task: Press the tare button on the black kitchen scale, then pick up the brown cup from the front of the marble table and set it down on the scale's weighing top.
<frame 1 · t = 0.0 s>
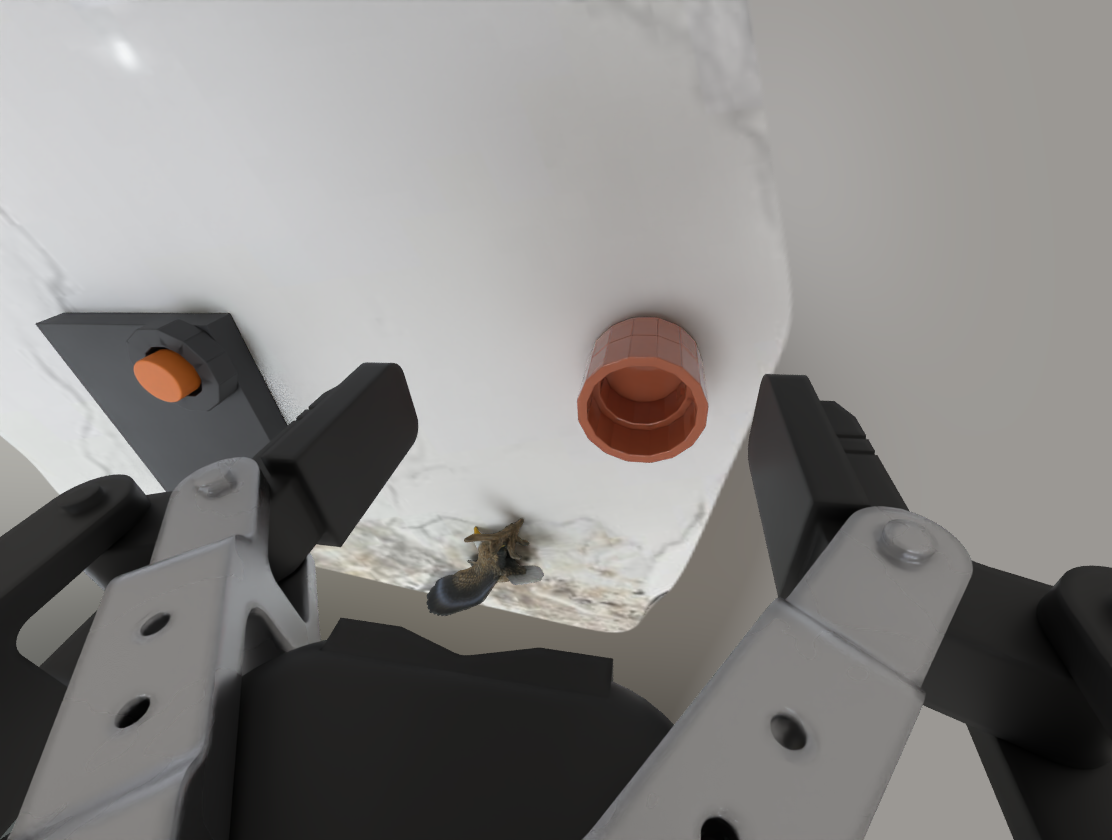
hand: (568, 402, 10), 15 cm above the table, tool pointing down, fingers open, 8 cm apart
scale: (204, 410, 36), on the table
tare button: (168, 375, 29), point 4 cm above the table, slide at 0.1 cm
brown cup: (644, 364, 26), on the table
eagle figurine: (497, 539, 38), on the table
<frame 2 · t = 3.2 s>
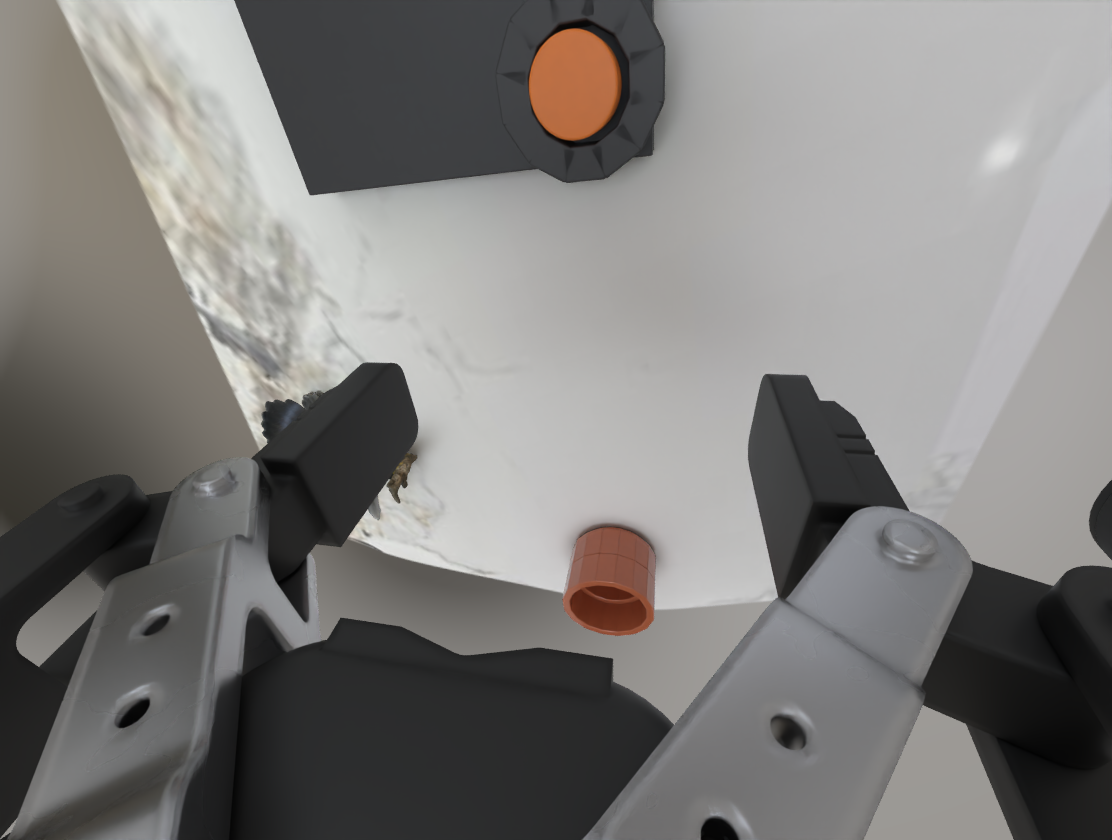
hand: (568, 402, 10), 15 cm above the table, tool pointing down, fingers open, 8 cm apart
tare button: (576, 87, 16), point 4 cm above the table, slide at 0.1 cm
brown cup: (614, 551, 35), on the table
eagle figurine: (368, 424, 33), on the table
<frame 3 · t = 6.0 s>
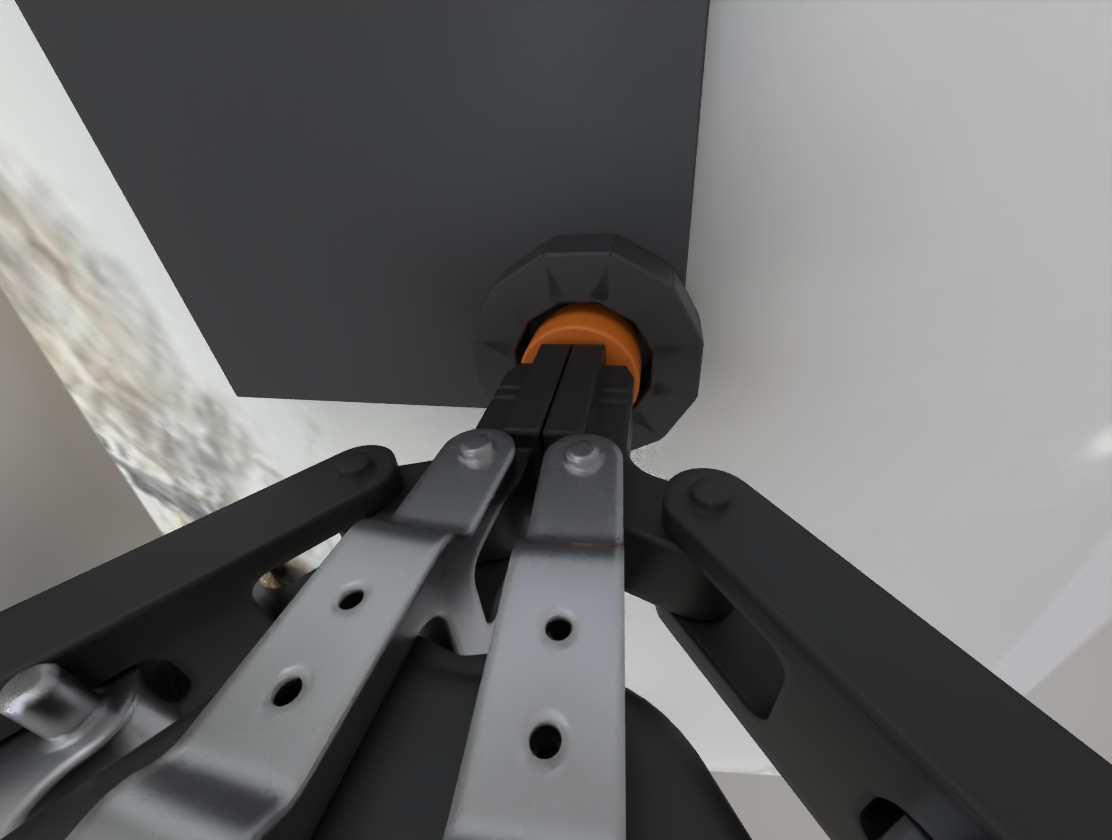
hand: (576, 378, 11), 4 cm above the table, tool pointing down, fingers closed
scale: (403, 166, 13), on the table
tare button: (582, 367, 12), point 3 cm above the table, slide at -0.3 cm, touching gripper
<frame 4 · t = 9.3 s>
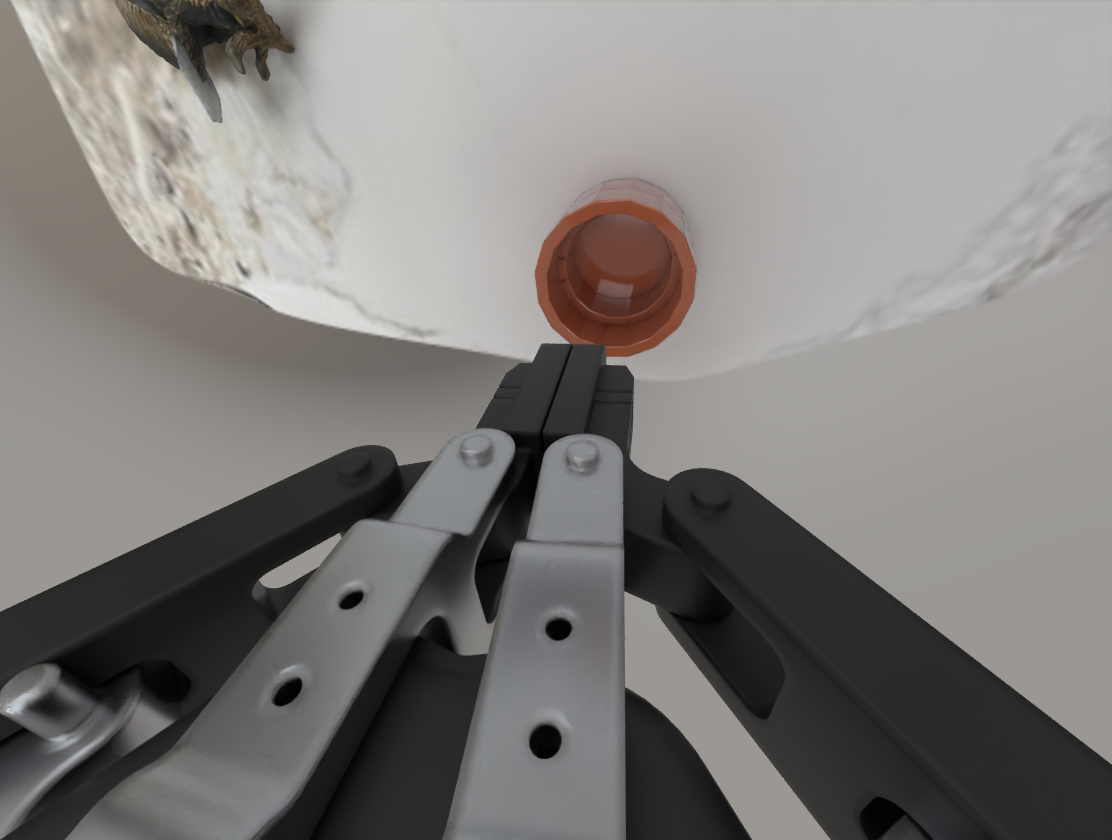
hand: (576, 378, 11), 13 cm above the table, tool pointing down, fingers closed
brown cup: (622, 249, 22), on the table
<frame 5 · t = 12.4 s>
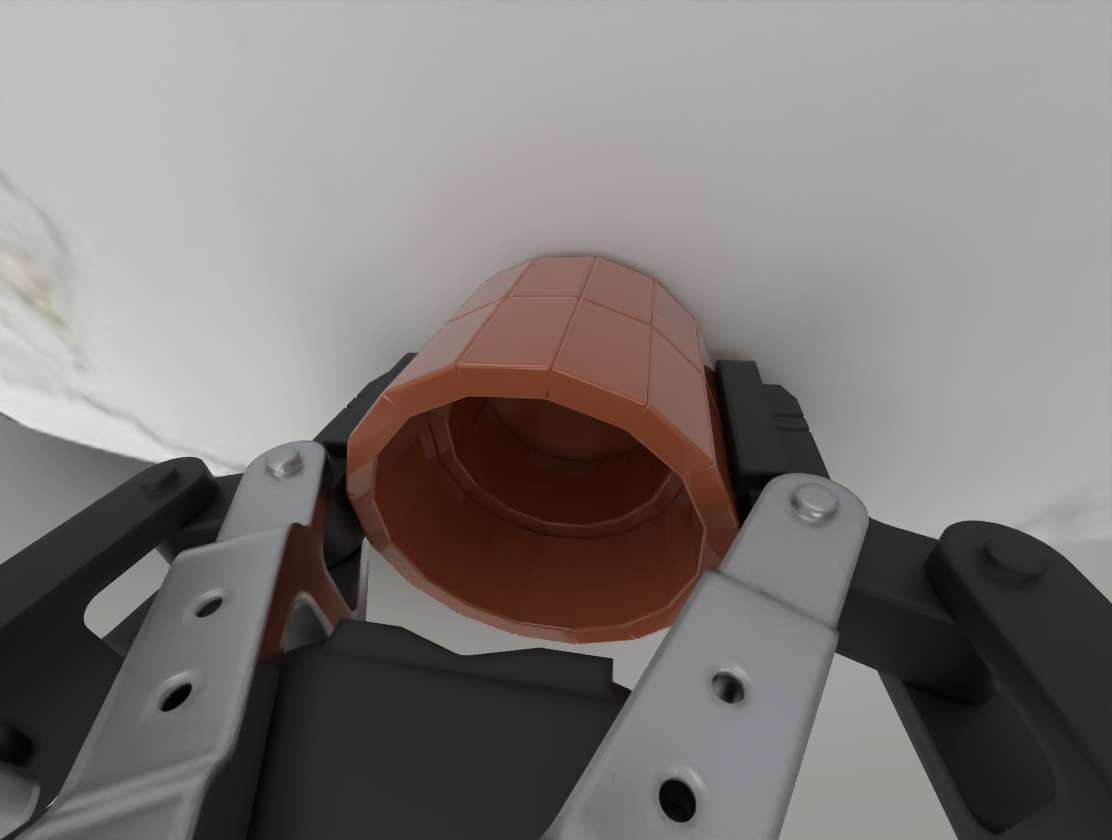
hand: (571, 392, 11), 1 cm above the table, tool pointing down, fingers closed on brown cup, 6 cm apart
brown cup: (577, 378, 11), on the table, touching gripper
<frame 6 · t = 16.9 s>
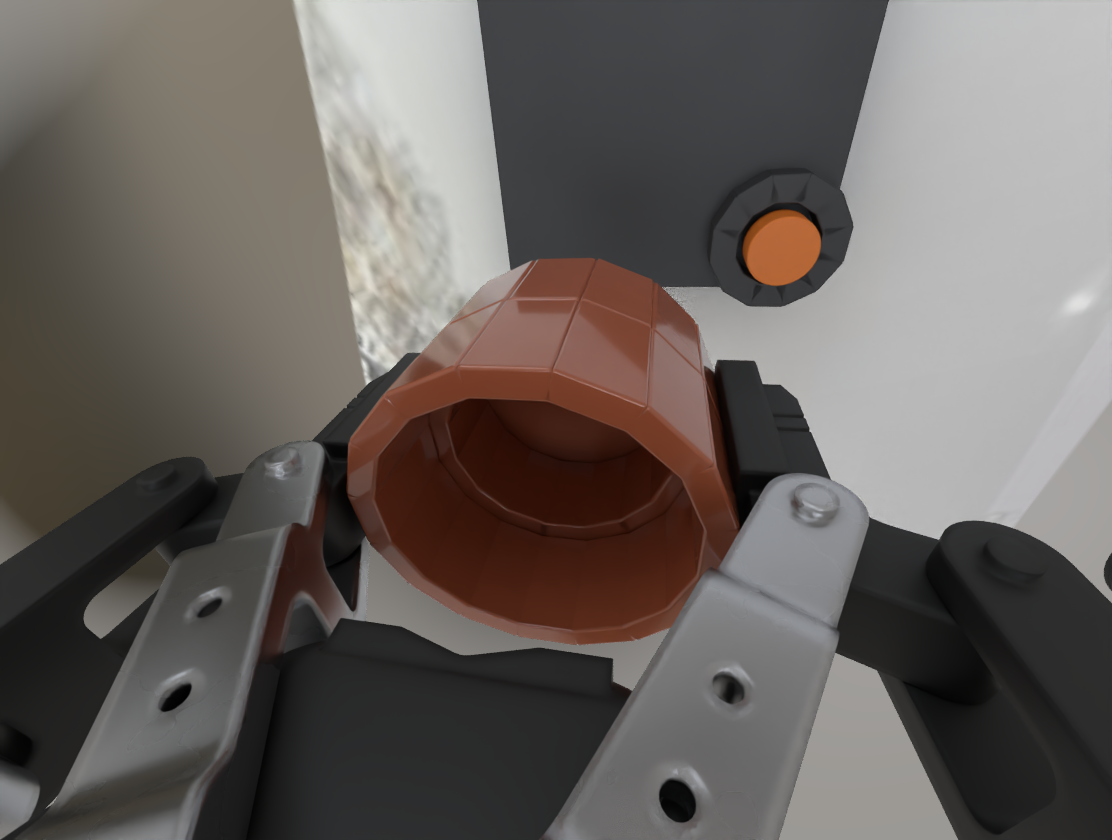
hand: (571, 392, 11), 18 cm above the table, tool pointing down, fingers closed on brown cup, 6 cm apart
scale: (662, 132, 22), on the table
tare button: (779, 248, 21), point 4 cm above the table, slide at 0.1 cm
brown cup: (577, 379, 11), point 17 cm above the table, touching gripper
when the fingers open (3 cm above the table, at t = 21.5 s): brown cup stays where it is, resting on scale.
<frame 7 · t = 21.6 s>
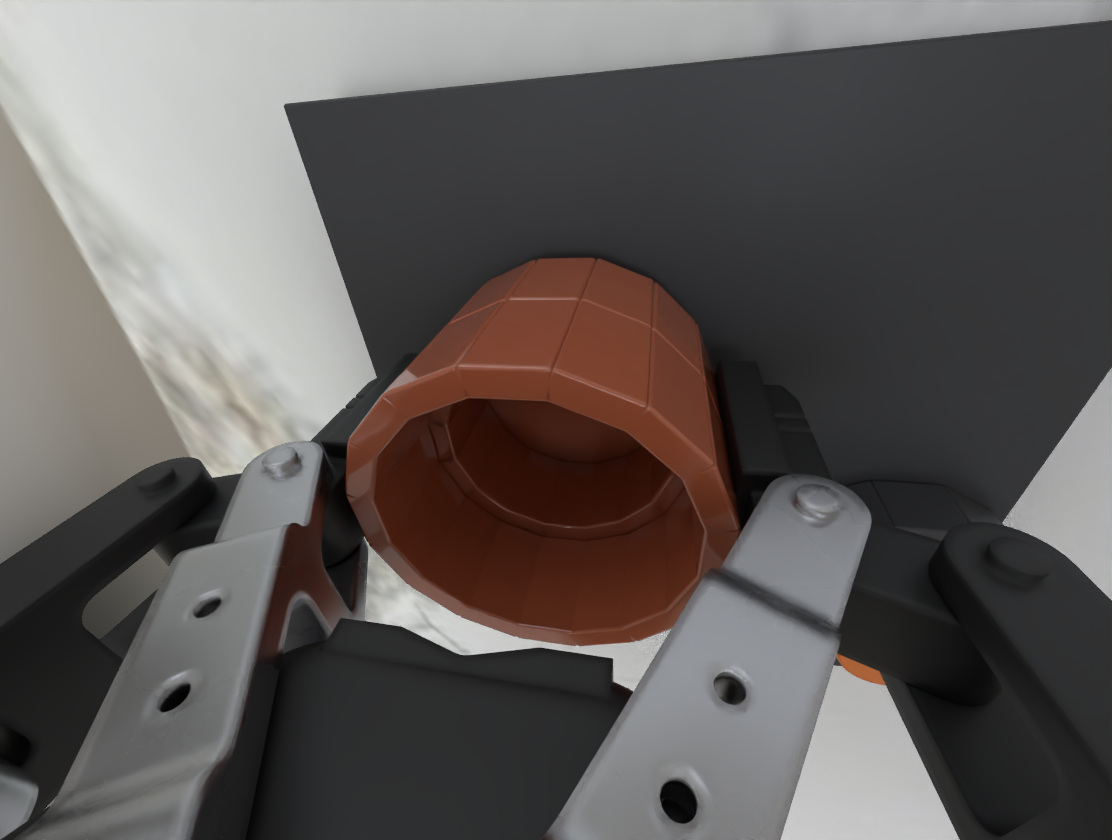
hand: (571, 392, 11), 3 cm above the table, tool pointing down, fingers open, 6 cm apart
scale: (676, 379, 13), on the table
tare button: (896, 625, 11), point 4 cm above the table, slide at 0.1 cm
brown cup: (577, 379, 11), point 2 cm above the table, touching scale
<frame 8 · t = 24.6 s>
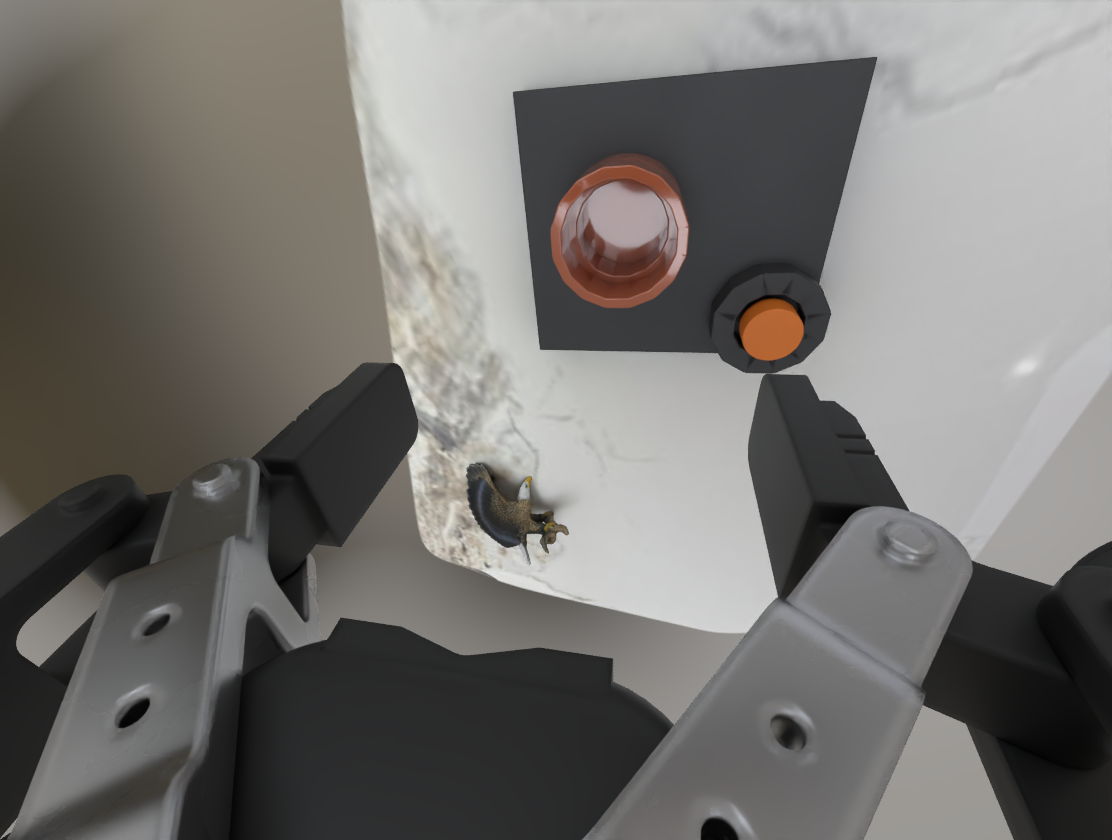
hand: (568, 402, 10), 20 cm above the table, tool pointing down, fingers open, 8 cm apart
scale: (670, 227, 26), on the table
tare button: (770, 329, 25), point 4 cm above the table, slide at 0.1 cm
brown cup: (625, 218, 25), point 2 cm above the table, touching scale
eagle figurine: (517, 487, 42), on the table
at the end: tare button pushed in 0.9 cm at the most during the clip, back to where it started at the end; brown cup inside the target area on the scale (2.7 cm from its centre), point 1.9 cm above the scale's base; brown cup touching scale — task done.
